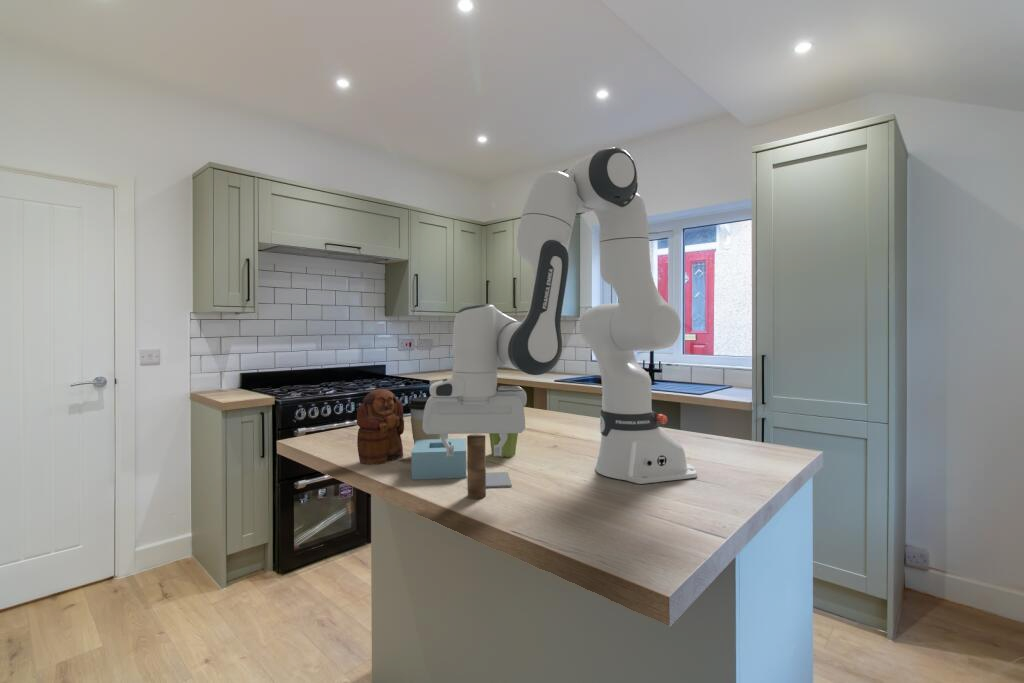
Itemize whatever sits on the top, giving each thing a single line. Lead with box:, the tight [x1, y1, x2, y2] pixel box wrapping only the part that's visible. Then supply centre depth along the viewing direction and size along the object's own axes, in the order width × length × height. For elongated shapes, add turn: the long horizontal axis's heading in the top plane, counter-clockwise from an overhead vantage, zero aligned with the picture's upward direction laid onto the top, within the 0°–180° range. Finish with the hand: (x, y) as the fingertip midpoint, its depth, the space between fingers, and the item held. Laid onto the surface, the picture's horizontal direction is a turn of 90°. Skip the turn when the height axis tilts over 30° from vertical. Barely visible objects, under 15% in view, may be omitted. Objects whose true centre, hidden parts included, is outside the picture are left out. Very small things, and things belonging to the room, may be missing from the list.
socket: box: [410, 437, 467, 480], centre depth 113 cm, size 12×12×6 cm
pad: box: [486, 471, 513, 489], centre depth 106 cm, size 9×9×1 cm
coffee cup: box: [407, 396, 441, 446], centre depth 126 cm, size 9×9×15 cm
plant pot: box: [488, 433, 519, 458], centre depth 127 cm, size 9×9×9 cm
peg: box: [466, 433, 487, 500], centre depth 96 cm, size 4×4×12 cm
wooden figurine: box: [356, 388, 405, 465], centre depth 123 cm, size 12×6×18 cm, turn 142°
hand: (474, 455), depth 96 cm, fingers open, 8 cm apart
